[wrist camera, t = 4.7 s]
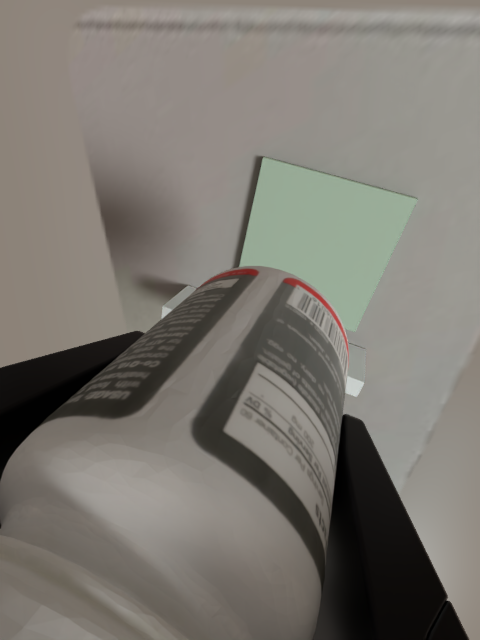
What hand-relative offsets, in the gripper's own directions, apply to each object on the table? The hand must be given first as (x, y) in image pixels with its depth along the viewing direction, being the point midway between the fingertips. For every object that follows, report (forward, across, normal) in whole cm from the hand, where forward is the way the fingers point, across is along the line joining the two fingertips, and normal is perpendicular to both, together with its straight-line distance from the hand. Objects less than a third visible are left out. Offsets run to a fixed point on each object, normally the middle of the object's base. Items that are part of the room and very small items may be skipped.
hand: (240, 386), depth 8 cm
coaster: (+11, 0, 0) cm, 11 cm away
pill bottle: (+2, 0, 0) cm, 2 cm away
